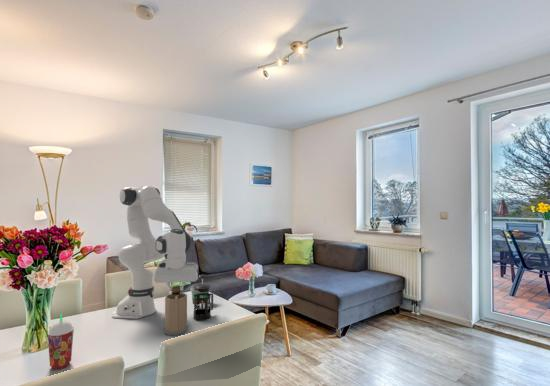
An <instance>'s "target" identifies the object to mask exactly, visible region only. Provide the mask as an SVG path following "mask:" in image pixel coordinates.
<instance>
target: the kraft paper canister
mask: <svg viewBox="0 0 550 386" xmlns="http://www.w3.org/2000/svg"><path fill="white" fill-rule="evenodd" d="M188 326H189V325H188V294H187V293H184V292H180V294H178V295H177V299H175V295H173V294H172V293H170V294H167V295H166V296H165V297H164V329H163V333H164V334H165V336H169V337H177V336H181V335H185V333H188V330H189V327H188Z"/></svg>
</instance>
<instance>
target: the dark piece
mask: <svg viewBox="0 0 550 386" xmlns="http://www.w3.org/2000/svg"><path fill="white" fill-rule="evenodd" d="M189 290H190V291H189V292H191V299H192V304H193V305H194V295H195V294H199V293H201V292H199V291H198V290H195V288H194V286H192V285H191V286H190V289H189ZM203 293H209V294H210V291H208V292H203ZM206 297H208V296H206V295H203V298H206ZM196 298H197V297H196ZM200 298H202V295H201V296H200ZM200 303H202V301H200ZM203 303H205V300H203ZM196 304H197V300H196Z"/></svg>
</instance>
